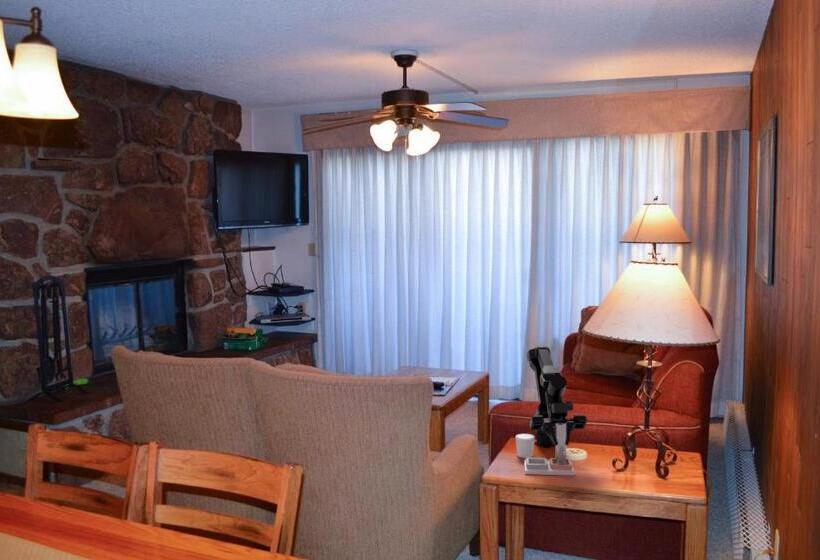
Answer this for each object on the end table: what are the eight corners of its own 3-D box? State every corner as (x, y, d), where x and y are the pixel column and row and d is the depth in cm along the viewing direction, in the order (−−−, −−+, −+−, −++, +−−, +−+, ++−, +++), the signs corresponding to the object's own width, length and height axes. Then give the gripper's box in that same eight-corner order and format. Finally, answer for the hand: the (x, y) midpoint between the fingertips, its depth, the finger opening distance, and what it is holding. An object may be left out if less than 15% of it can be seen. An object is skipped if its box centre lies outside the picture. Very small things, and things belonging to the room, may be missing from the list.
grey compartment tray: (524, 463, 255) (524, 455, 254) (571, 464, 253) (571, 456, 253) (525, 474, 245) (525, 466, 245) (574, 475, 243) (574, 467, 243)
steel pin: (563, 461, 250) (563, 421, 249) (568, 465, 247) (568, 424, 245) (553, 462, 250) (553, 422, 248) (558, 466, 246) (558, 425, 244)
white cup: (536, 458, 259) (536, 439, 259) (516, 458, 260) (516, 439, 259) (533, 451, 266) (533, 433, 266) (514, 452, 266) (514, 433, 266)
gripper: (531, 392, 249) (536, 434, 240) (586, 391, 250) (594, 433, 240) (527, 408, 258) (532, 449, 248) (580, 407, 258) (587, 448, 249)
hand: (561, 445), depth 246 cm, fingers closed on steel pin, 4 cm apart
